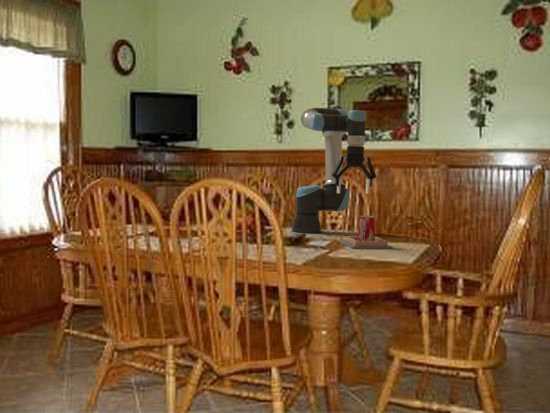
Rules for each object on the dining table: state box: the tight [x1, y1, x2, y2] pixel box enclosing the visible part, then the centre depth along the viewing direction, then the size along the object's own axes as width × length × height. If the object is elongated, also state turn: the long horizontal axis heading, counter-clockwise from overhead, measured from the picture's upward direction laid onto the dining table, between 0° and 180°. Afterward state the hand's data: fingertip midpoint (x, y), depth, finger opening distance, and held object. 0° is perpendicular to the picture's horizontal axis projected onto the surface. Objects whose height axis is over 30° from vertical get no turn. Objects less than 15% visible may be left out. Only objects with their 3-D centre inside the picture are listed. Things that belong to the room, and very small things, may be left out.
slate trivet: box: [339, 235, 394, 250], centre depth 254 cm, size 18×18×3 cm
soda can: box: [358, 214, 376, 241], centre depth 254 cm, size 7×7×12 cm
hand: (353, 193), depth 258 cm, fingers open, 13 cm apart
